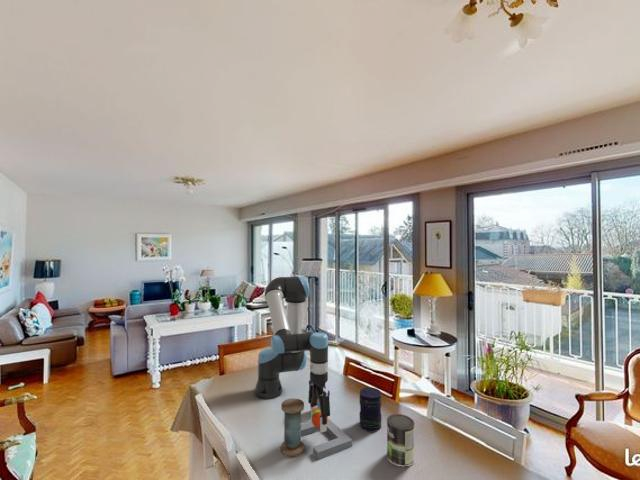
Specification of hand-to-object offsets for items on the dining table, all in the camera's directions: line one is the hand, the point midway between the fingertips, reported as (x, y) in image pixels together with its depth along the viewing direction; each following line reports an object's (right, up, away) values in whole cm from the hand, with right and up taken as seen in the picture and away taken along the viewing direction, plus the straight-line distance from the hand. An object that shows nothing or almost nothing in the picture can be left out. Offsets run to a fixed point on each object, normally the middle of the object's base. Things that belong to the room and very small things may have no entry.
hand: (318, 426), depth 130 cm
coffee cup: (-1, -6, +21) cm, 22 cm away
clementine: (0, 0, 0) cm, 1 cm away
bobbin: (-10, -6, -6) cm, 13 cm away
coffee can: (+31, -6, -11) cm, 34 cm away
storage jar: (+24, -6, +11) cm, 27 cm away
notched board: (+2, -6, +1) cm, 6 cm away
